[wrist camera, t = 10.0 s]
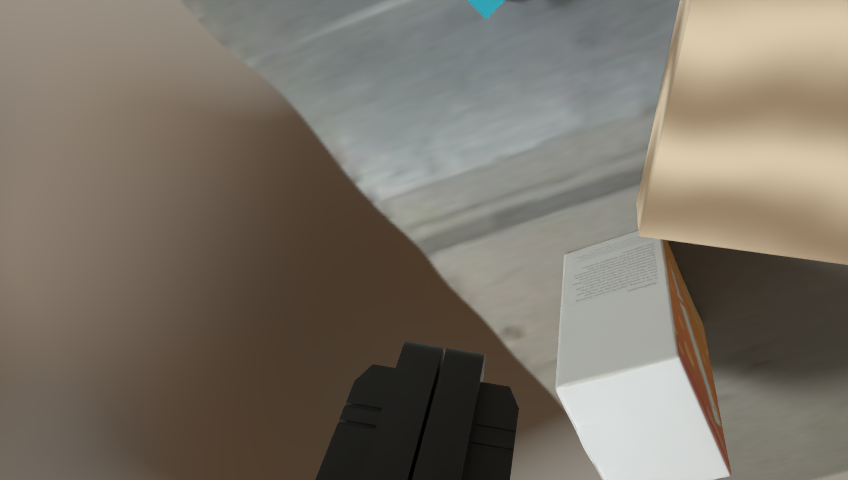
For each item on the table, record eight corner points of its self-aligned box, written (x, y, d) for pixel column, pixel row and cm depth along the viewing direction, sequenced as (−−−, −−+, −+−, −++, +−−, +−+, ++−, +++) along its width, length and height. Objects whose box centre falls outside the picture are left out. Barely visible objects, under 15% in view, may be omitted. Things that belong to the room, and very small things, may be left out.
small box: (705, 323, 51) (734, 479, 40) (608, 349, 53) (611, 503, 42) (662, 218, 47) (680, 356, 36) (561, 251, 50) (550, 390, 39)
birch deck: (703, -110, 38) (714, -98, 35) (972, -88, 37) (1010, -73, 33) (636, 202, 47) (639, 236, 44) (850, 230, 46) (870, 268, 42)
